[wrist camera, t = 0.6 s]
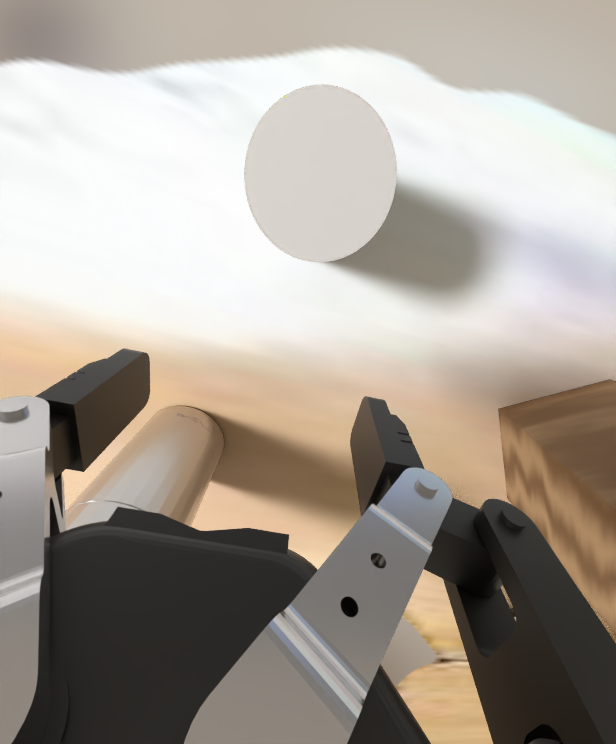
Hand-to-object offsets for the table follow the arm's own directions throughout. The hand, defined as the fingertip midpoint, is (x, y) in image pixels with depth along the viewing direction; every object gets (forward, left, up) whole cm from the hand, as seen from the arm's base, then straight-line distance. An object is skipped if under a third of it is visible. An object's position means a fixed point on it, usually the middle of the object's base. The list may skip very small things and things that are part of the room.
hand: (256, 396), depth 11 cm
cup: (+9, +2, -21) cm, 23 cm away
